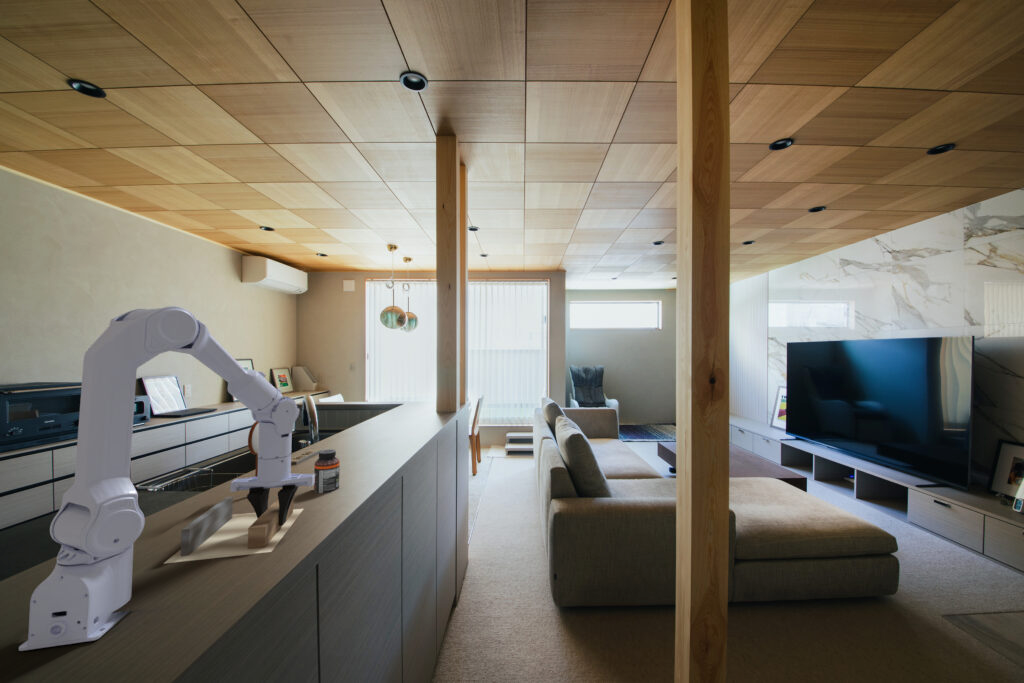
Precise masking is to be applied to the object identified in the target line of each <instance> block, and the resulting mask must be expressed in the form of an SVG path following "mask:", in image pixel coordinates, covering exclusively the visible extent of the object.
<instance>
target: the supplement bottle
mask: <svg viewBox="0 0 1024 683" xmlns="http://www.w3.org/2000/svg"><path fill="white" fill-rule="evenodd" d="M336 456H337V452H336V450H335V449H323V450H320V451H318V459H317V460H316V461H315V462H314V470H313V472H314V473H313V474H315V483H314V485H313V491H314V493H318V494H325V493H332V492H334V491H337V490H339V489H340V459H339V458H338V457H336Z"/></svg>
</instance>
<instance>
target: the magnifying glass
mask: <svg viewBox="0 0 1024 683" xmlns="http://www.w3.org/2000/svg"><path fill="white" fill-rule="evenodd" d="M247 437H248V438H247V446H248V449H249V452H250V454H252V455H255V473H254V477H257V476H258V442H259V422H257V421H254V422H253V424H252V425H251V427H250V429H249V432H248V436H247Z"/></svg>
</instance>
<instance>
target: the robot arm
mask: <svg viewBox="0 0 1024 683" xmlns="http://www.w3.org/2000/svg"><path fill="white" fill-rule="evenodd" d="M167 352H175V353H180V354H188V355H190V356H192V357H193V358H195V360H198V361H199V362H200V363H201V364H202V365H204V366H205V367H206V368H208V369H209V370H211V371H212V372H213V373H215V374H216V375H217V376H218V377H220V378H221V379H223V380H224V381H225V382H227V392H228V393H229V394H230V395H231V396H233V397H234V398H235V399H236V400H237V401H238V402H240V403H241V404H242V405H244V406H245V408H247V409H248V410H250V411H251V412H250V413H251V417H252V419H253V420H254V422H256V421H257V422H259V442H258V476H257V477H255V476H251V477H244V478H235V479H234V480H232V481H231V482H230V493H233V492H234V493H236V492H238V491H249V492H248V493H247V494H246V499H247V501H248V502H249V503H250V505H251V506H252V508H253V510H254V513H256V515H257V518H259V517H260V516H261V515H262V514H263V513H264V512H265V511H266V510H267V509H268V508H269V497H270V491H271V489H274V488H275V489H277V488H281V489H279V491H277V499H279V526H282V525H284V523H285V522H286V518H287V514H288V510H289V507H290V504H291V502H292V499H293V497H295V495H296V493H297V490H298V488H299V487H303V486H304V487H305V486H306V487H312V486H313V487H314V483H315V474H314V473H291V472H292V439H293V438H292V437H293V436H292V435H293V430H294V429H295V422H296V420H297V419H298V417H299V415H300V411H301V409H300V408H298V405H297V403H296V401H295V400H294V399H293V398H292V397H290V396H283V394H282V390H281V389H280V388H278V387H277V388H276V386H273V384H272V383H271V382H269V380H267V379H266V374H265V373H264V372H263V371H258V370H256V369H245V368H244V367H243V366H242V365H241V364H240V363H239V362H238V361H237V360H236V359H235V357H233V356H232V355H231V354H230V352H229V351H228V350H226V349H225V347H223V345H222V344H220V342H219V341H218V340H217V339H216V338H214V336H213V335H212V334H211V333H210V331H209V329H208V326H207V325H206V324H205V323H204V322H203V321H200V320H199V319H197V317H196V316H195V315H194V314H193V313H192V312H190V311H189V310H188V309H186V308H183V307H181V306H165V307H161V308H160V307H157V308H138V309H137V308H135V309H132V310H129V311H126V312H124V313H122V314H120V315H118V316H116V317H114V318H111V319H110V321H109V324H108V327H107V328H106V329H105V330H104V331H103V332H102V333H101V334H100V336H99V337H98V338H97V339H95V341H93V344H90V347H89V348H87V350H86V351H85V352H84V356H83V360H82V361H83V362H82V363H83V364H82V366H83V367H82V375H81V376H82V377H81V389H80V390H81V391H80V404H79V405H80V406H79V416H78V418H79V419H78V429H77V441H76V455H75V456H76V459H75V469H74V472H75V473H74V483H73V484H72V486H70V487H69V488H68V490H66V491H65V492H64V493H63V495H62V497H61V499H62V500H61V505H60V508H59V509H58V512H57V513H56V515H55V516H54V517H53V519H52V521H51V522H50V526H49V534H50V536H51V539H52V540H53V541H55V542H56V543H58V544H60V546H61V547H60V549H59V551H58V553H57V556H56V563H55V566H54V568H53V570H52V572H51V573H50V574H49V576H47V577H46V578H45V579H44V580H43V581H42V582H41V583H40V584H38V586H37V587H36V588H35V590H33V592H32V594H31V597H30V601H29V616H28V618H29V619H28V620H29V621H28V636H27V637H28V638H27V640H26V641H25V642H23V643H22V644H20V645H19V646H18V651H19V652H24V651H30V650H38V649H43V648H50V647H52V648H53V647H57V646H65V645H72V644H80V643H85V642H92V641H96V640H99V639H100V638H101V637H102V636H103V635H104V634H106V632H108V631H109V630H110V629H112V628H113V627H114V626H115V625H116V624H117V623H119V622H120V620H122V619H123V618H124V617H125V616H127V614H128V613H130V612H131V610H125V611H117V610H119V609H120V608H122V607H123V606H124V605H126V604H127V603H128V602H129V601H130V600H131V599H132V593H133V592H132V589H133V588H132V587H133V566H134V565H133V564H134V562H133V561H134V545H135V544H134V543H135V542H136V541H137V539H139V537H140V536H141V534H142V532H143V530H144V527H145V523H146V519H145V515H144V512H143V511H142V510H141V508H140V506H139V500H138V499H139V494H138V491H137V490H136V488H135V486H134V484H133V482H132V480H131V478H130V477H131V476H130V473H131V463H132V462H131V460H132V459H131V458H132V448H133V447H132V445H133V444H132V443H133V430H134V429H133V428H134V416H135V414H134V413H135V400H136V397H135V396H136V385H137V371H138V369H139V367H141V366H143V365H144V364H146V363H148V362H149V361H151V360H153V359H154V358H155V357H157V356H158V355H160V354H164V353H167ZM115 611H117V612H115Z"/></svg>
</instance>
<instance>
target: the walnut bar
mask: <svg viewBox="0 0 1024 683" xmlns="http://www.w3.org/2000/svg"><path fill="white" fill-rule="evenodd" d="M294 497H295V496H294ZM294 497H293V499H292V502H291V504H290V507H289V510H288V514H287V518H286V521H287V519H288V518H289V517H290V516H291V514H292V513H293V509H294V501H295V500H294ZM282 526H283V525H282ZM282 526H279V499H278V498H277V499H276V500H275V501H274V502H272V504H271V505H270V506H268V509H267V510H266V511H265V512H264V513H263V514H262V515H261V516H260V517H259V518H258V519H257V520H256V521H255V522H254V523H253V524H252V525H251V526H250V527H249V528H248V549H250V548H260V547H266V545H267V544H268V543H269V542H270V540H271V539H272V538H273V537H274V535H275V534H276V533H277V532H278V531H279V529H280V528H281V527H282Z"/></svg>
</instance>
